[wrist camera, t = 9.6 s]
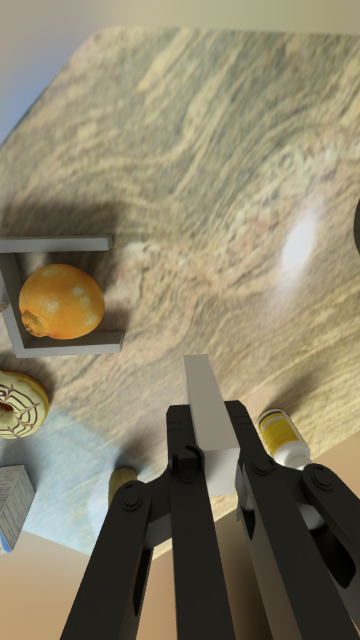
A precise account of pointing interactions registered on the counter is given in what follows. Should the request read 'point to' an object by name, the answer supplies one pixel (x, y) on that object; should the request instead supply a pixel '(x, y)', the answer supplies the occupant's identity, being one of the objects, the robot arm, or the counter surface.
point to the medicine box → (13, 504)
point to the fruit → (61, 302)
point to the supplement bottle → (284, 439)
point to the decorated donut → (21, 405)
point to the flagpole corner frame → (6, 283)
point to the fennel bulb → (119, 480)
